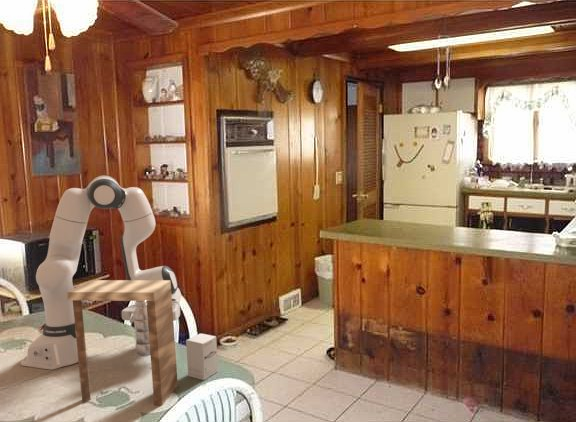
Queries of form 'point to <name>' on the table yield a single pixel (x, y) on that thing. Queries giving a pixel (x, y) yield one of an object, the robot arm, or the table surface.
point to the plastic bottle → (141, 329)
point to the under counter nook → (158, 325)
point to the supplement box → (202, 356)
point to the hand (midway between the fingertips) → (141, 320)
